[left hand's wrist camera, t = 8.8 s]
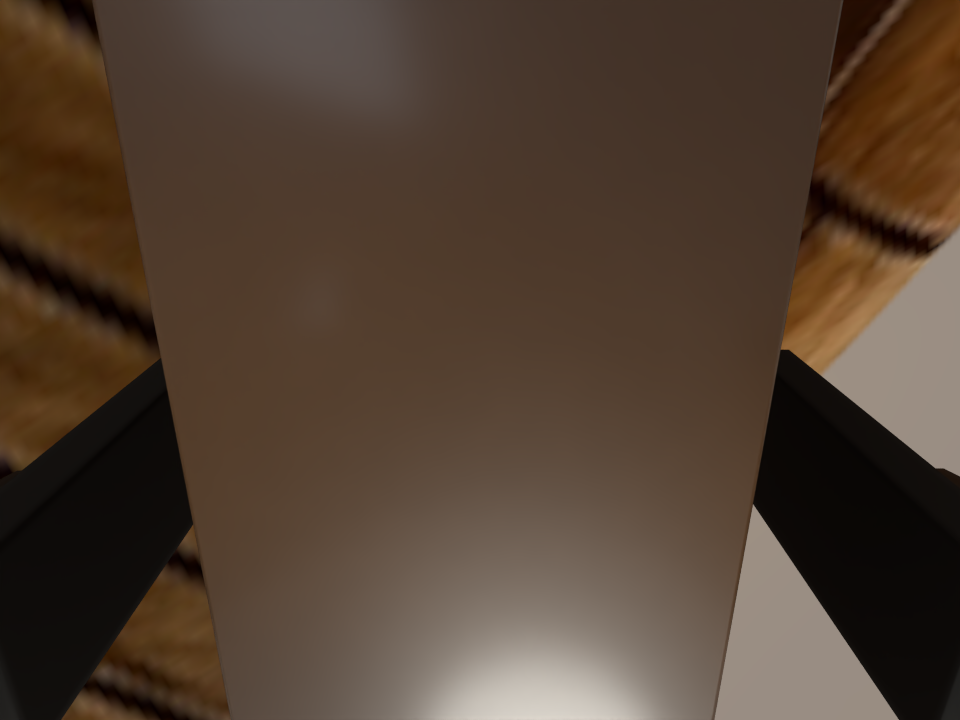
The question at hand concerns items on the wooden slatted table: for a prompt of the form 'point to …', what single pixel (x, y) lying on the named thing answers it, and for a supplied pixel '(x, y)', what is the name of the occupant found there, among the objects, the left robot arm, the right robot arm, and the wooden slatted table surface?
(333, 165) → the bar
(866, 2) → the wooden slatted table surface
